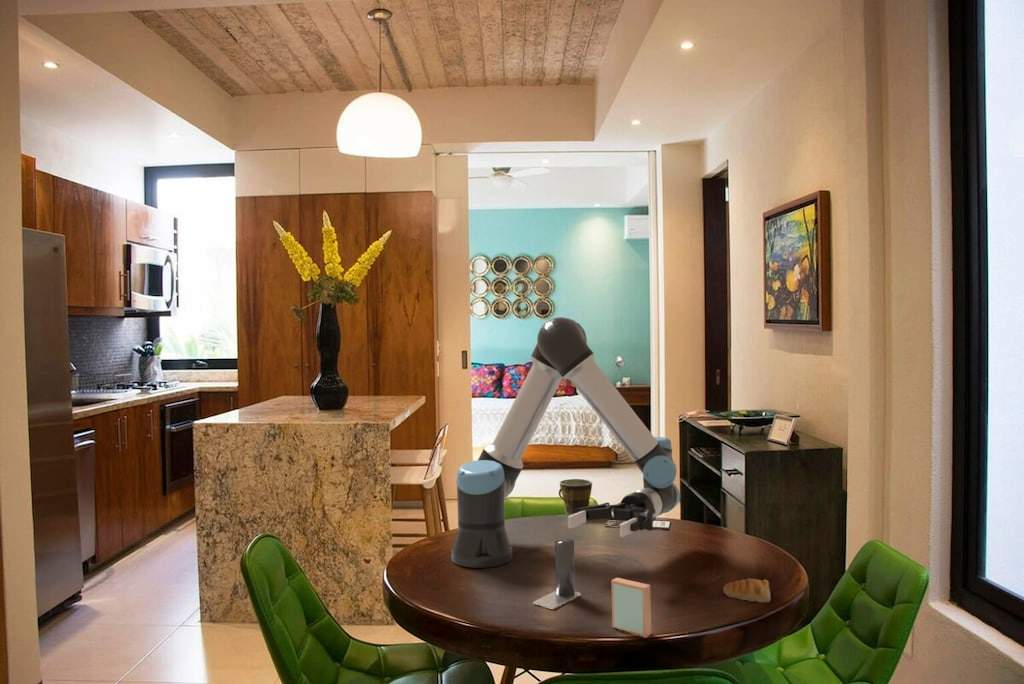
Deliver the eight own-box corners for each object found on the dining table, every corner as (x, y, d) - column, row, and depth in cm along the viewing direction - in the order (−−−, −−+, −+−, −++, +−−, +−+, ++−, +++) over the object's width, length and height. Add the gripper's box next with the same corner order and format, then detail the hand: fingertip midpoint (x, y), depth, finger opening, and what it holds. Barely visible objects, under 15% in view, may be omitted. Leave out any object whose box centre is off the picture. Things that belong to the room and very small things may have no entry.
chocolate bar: (608, 517, 210) (670, 520, 204) (608, 520, 210) (670, 523, 204) (604, 525, 201) (668, 528, 196) (604, 528, 201) (668, 532, 196)
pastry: (724, 601, 144) (723, 582, 144) (722, 589, 150) (722, 572, 150) (772, 604, 141) (772, 585, 141) (769, 593, 148) (768, 575, 148)
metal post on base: (533, 604, 143) (531, 548, 143) (561, 590, 151) (560, 537, 151) (552, 610, 140) (551, 552, 140) (580, 595, 148) (579, 541, 148)
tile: (612, 628, 131) (611, 580, 131) (617, 624, 132) (616, 577, 132) (645, 637, 126) (644, 588, 126) (651, 634, 128) (650, 585, 128)
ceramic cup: (574, 509, 222) (573, 477, 222) (599, 514, 216) (598, 481, 215) (547, 517, 213) (546, 484, 213) (572, 522, 206) (572, 488, 206)
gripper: (688, 528, 165) (645, 552, 148) (597, 515, 180) (549, 535, 164) (687, 496, 165) (643, 516, 148) (596, 486, 180) (548, 503, 164)
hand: (594, 526), depth 156 cm, fingers open, 13 cm apart
